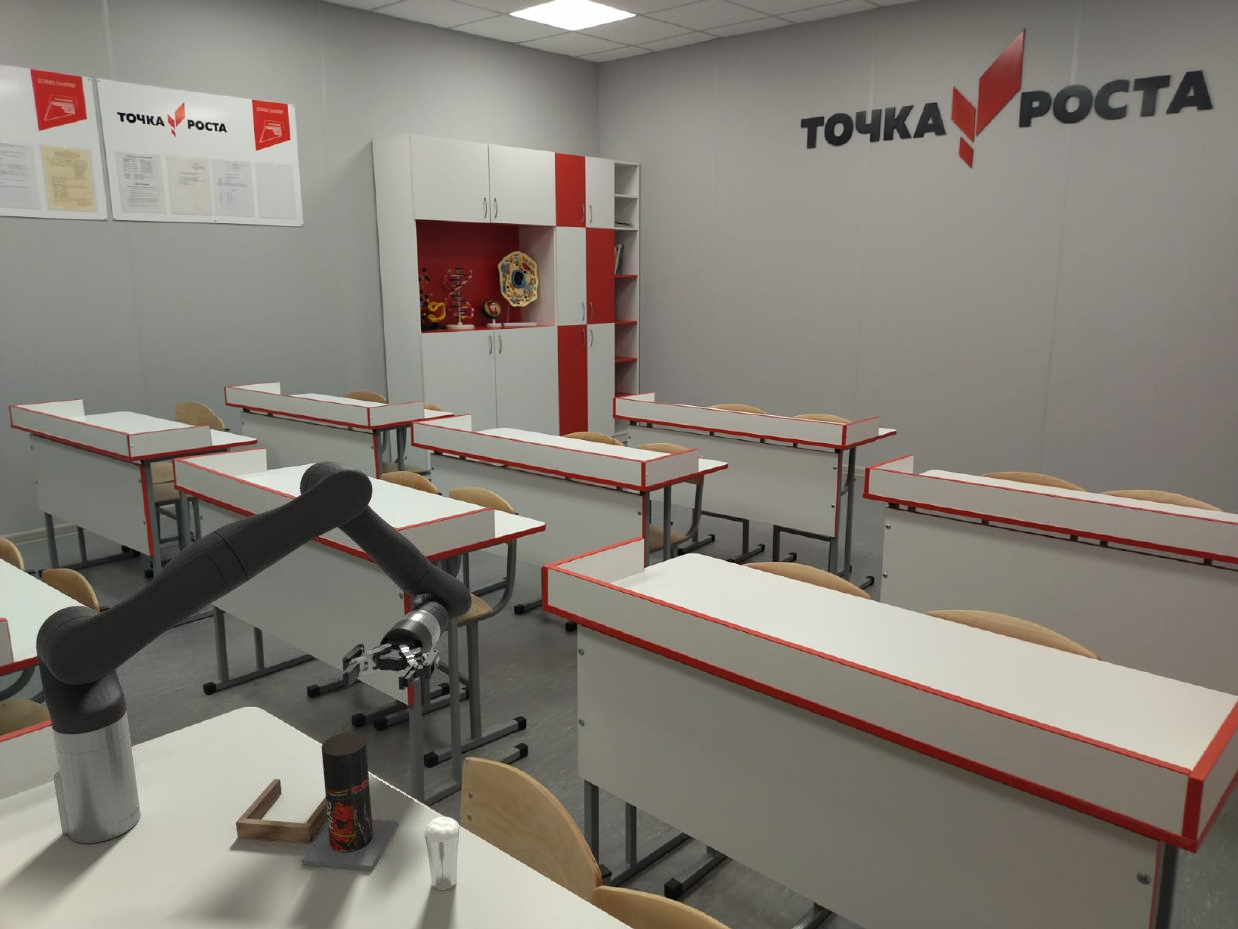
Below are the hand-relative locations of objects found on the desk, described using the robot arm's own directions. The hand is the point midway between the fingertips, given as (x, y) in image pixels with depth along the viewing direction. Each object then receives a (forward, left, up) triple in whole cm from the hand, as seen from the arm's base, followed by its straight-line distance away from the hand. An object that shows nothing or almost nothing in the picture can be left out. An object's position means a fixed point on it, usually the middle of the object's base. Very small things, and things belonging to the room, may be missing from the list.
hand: (373, 682), depth 132 cm
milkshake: (+16, -18, -20) cm, 31 cm away
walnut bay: (-11, -6, -19) cm, 23 cm away
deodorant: (0, -11, -19) cm, 22 cm away
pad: (0, -12, -19) cm, 23 cm away
